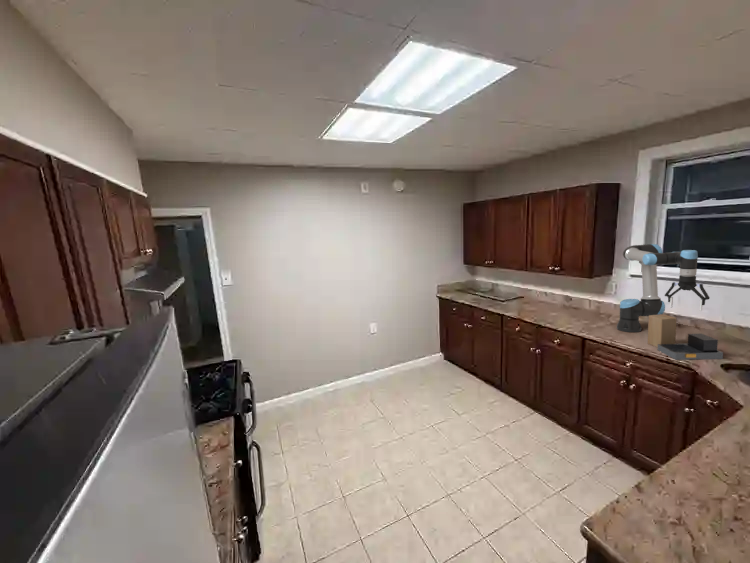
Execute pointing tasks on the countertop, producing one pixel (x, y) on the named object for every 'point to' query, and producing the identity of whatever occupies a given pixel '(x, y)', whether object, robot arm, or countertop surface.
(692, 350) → the rack
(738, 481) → the countertop surface
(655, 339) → the wooden block
